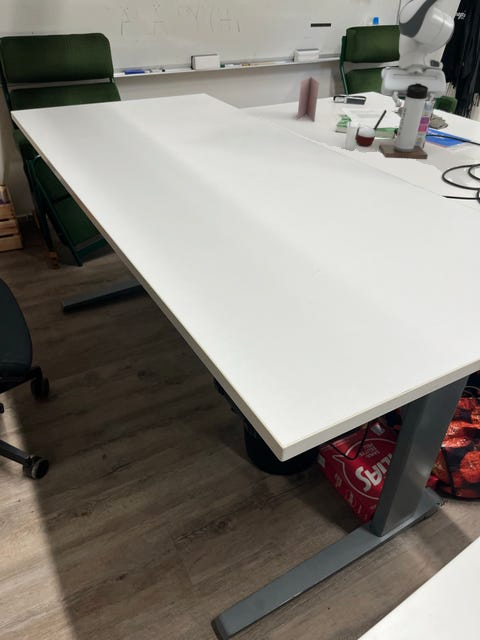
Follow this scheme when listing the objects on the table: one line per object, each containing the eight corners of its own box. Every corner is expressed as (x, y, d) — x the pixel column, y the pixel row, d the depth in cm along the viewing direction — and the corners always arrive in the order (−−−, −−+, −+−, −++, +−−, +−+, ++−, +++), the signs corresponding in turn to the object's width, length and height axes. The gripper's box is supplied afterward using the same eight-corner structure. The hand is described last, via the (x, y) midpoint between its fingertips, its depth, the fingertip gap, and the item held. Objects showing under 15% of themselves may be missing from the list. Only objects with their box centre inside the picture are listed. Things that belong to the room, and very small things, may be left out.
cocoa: (350, 146, 169) (356, 110, 162) (353, 141, 174) (360, 106, 167) (377, 150, 167) (384, 113, 159) (380, 145, 171) (387, 109, 164)
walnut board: (417, 150, 168) (419, 145, 167) (426, 159, 160) (427, 154, 159) (378, 148, 168) (379, 144, 167) (385, 157, 160) (386, 153, 159)
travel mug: (412, 147, 165) (428, 84, 153) (412, 153, 160) (429, 88, 148) (394, 145, 166) (408, 82, 154) (393, 151, 161) (408, 86, 149)
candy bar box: (424, 149, 169) (437, 100, 159) (411, 150, 168) (423, 100, 158) (409, 139, 178) (421, 92, 168) (397, 140, 177) (408, 92, 167)
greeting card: (304, 115, 201) (308, 76, 192) (321, 118, 199) (326, 78, 190) (294, 122, 193) (298, 81, 184) (312, 125, 190) (317, 84, 181)
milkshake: (338, 149, 165) (343, 119, 159) (348, 146, 168) (353, 116, 162) (349, 153, 163) (355, 122, 157) (358, 150, 166) (364, 119, 160)
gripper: (384, 60, 154) (383, 99, 152) (447, 63, 154) (448, 102, 152) (378, 73, 160) (378, 111, 158) (439, 76, 160) (440, 114, 158)
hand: (413, 106), depth 155 cm, fingers open, 8 cm apart
